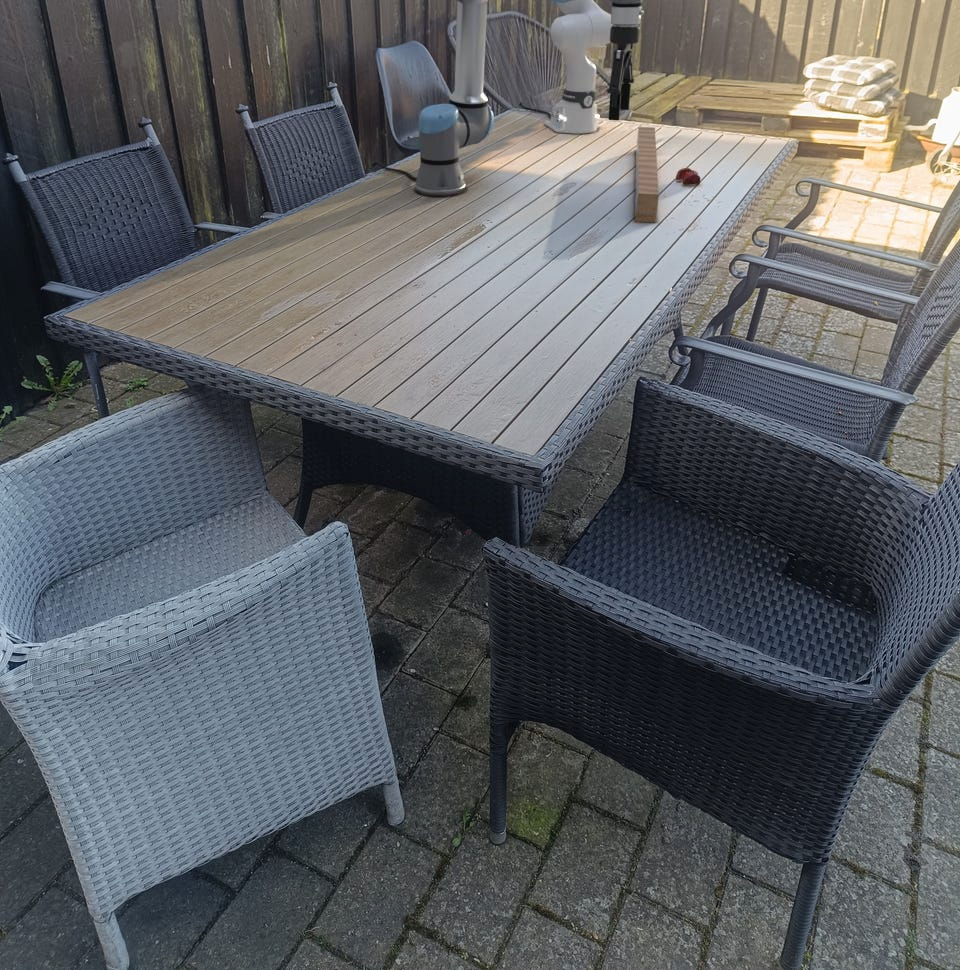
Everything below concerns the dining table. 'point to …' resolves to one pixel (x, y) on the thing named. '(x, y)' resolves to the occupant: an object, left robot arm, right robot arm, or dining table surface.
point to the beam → (646, 176)
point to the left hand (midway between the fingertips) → (618, 114)
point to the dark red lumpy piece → (688, 176)
